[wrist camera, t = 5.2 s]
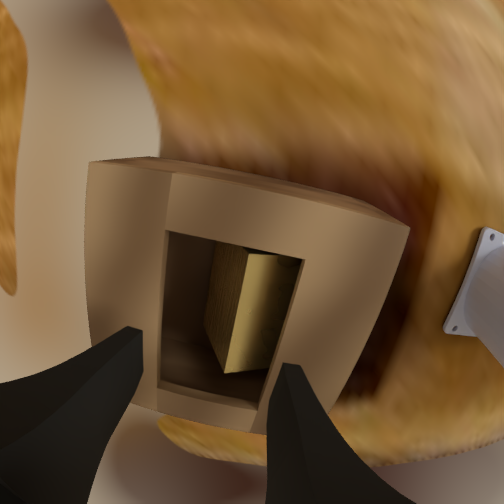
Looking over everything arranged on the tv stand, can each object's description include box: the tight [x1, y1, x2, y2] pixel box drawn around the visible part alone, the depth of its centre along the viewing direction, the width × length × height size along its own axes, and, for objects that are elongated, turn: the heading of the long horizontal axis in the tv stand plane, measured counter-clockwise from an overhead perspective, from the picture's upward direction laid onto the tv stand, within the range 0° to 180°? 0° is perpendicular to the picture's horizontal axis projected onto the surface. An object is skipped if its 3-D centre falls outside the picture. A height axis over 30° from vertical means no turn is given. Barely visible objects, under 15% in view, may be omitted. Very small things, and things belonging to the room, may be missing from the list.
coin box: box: [84, 156, 410, 435], centre depth 14 cm, size 12×12×6 cm
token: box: [203, 241, 302, 373], centre depth 14 cm, size 3×6×4 cm, turn 168°
